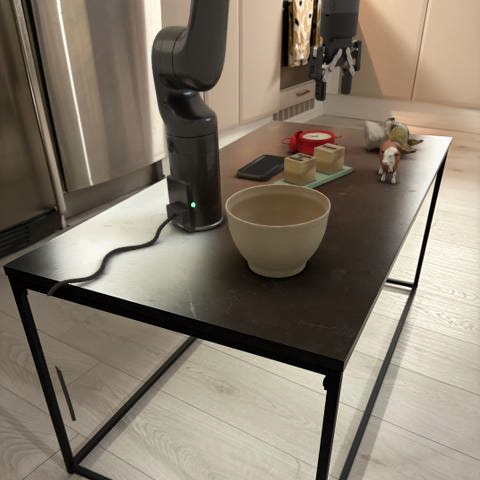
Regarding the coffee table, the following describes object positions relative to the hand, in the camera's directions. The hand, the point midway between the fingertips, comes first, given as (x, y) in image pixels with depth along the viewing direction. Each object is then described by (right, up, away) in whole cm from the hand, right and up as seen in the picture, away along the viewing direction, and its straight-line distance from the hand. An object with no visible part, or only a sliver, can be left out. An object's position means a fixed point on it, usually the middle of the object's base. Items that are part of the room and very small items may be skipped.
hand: (332, 97), depth 109 cm
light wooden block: (-7, -17, +4) cm, 19 cm away
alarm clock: (-2, -3, +25) cm, 25 cm away
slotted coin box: (+1, -13, +9) cm, 16 cm away
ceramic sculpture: (+19, -4, +22) cm, 29 cm away
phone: (-14, -12, +14) cm, 23 cm away
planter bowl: (-14, -39, -25) cm, 49 cm away
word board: (-3, -16, +7) cm, 18 cm away
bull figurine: (+13, -16, +6) cm, 22 cm away
